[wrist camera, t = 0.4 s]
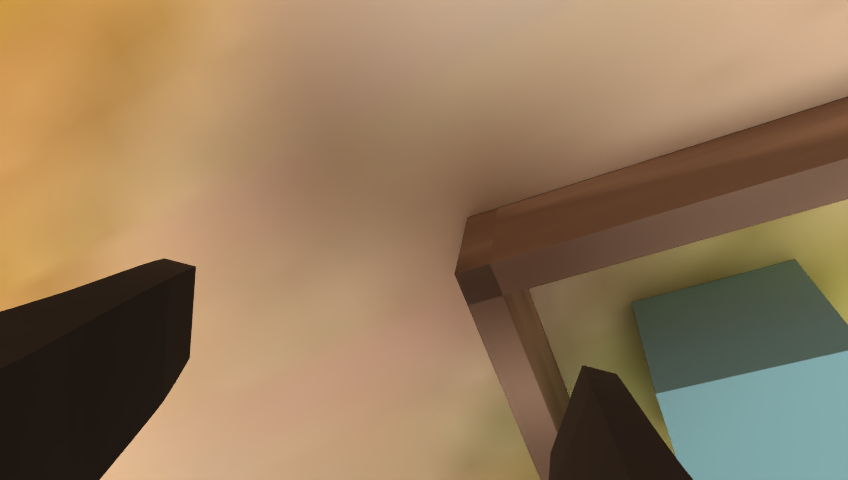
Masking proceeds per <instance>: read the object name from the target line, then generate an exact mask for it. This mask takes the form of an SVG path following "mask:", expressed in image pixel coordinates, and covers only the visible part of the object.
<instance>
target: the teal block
mask: <svg viewBox="0 0 848 480" xmlns="http://www.w3.org/2000/svg"><path fill="white" fill-rule="evenodd" d="M631 303H632V307H633V311H634V315H635V318H636V322H637V326H638V330H639V333H640V337H641V341H642V345H643V349H644V352H645V356H646V360H647V364H648V367H649V371H650V375H651V379H652V382H653V386H654V390H655V394H656V397H657V400H658V403H659V406H660V409H661V412H662V415H663V418H664V421H665V424H666V427H667V430H668V433H669V436H670V439H671V443H672V446H673V449H674V452H675V455H676V458H677V460H678V461H679V462H680V463H681V465H682V466H683V467H684V469H685V470H686V471H687V472H688V474H689V475H690V476H691V477H692V479H693V480H848V325H847V323H846V322H845V321H844V320H843V318H842V317H841V316H840V315H839V313H838V312H837V311H836V310H835V308H834V307H833V306H832V305H831V303H830V302H829V301H828V300H827V298H826V297H825V296H824V295H823V294H822V292H821V291H820V290H819V289H818V287H817V286H816V285H815V284H814V282H813V281H812V280H811V279H810V277H809V276H808V275H807V274H806V272H805V271H804V270H803V269H802V267H801V266H800V265H799V264H798V262H797V261H796V260H795V259H794V260H790V261H787V262H783V263H779V264H775V265H771V266H768V267H764V268H760V269H756V270H752V271H749V272H745V273H741V274H737V275H733V276H730V277H726V278H722V279H718V280H714V281H711V282H707V283H703V284H699V285H695V286H692V287H688V288H684V289H680V290H676V291H673V292H669V293H665V294H661V295H657V296H654V297H650V298H646V299H642V300H638V301H635V302H631Z"/></svg>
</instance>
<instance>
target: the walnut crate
mask: <svg viewBox="0 0 848 480" xmlns="http://www.w3.org/2000/svg"><path fill="white" fill-rule="evenodd" d="M846 199H848V97H847V98H843V99H840V100H837V101H834V102H831V103H828V104H825V105H821V106H818V107H815V108H812V109H809V110H806V111H803V112H799V113H796V114H793V115H790V116H787V117H784V118H780V119H777V120H774V121H771V122H768V123H765V124H762V125H758V126H755V127H752V128H749V129H746V130H743V131H740V132H736V133H733V134H730V135H727V136H724V137H721V138H718V139H714V140H711V141H708V142H705V143H702V144H699V145H695V146H692V147H689V148H686V149H683V150H680V151H677V152H673V153H670V154H667V155H664V156H661V157H658V158H655V159H651V160H648V161H645V162H642V163H639V164H636V165H633V166H629V167H626V168H623V169H620V170H617V171H614V172H611V173H607V174H604V175H601V176H598V177H595V178H592V179H588V180H585V181H582V182H579V183H576V184H573V185H570V186H566V187H563V188H560V189H557V190H554V191H551V192H548V193H544V194H541V195H538V196H535V197H532V198H529V199H526V200H522V201H519V202H516V203H513V204H510V205H507V206H504V207H500V208H497V209H494V210H491V211H488V212H485V213H481V214H478V215H475V216H472V217H469V218H468V219H467V223H466V227H465V232H464V236H463V240H462V245H461V249H460V253H459V258H458V262H457V266H456V270H455V276H456V278H457V281H458V283H459V286H460V288H461V290H462V293H463V295H464V298H465V300H466V302H467V305H468V307H469V310H470V312H471V314H472V317H473V319H474V321H475V324H476V326H477V329H478V331H479V333H480V336H481V338H482V341H483V343H484V345H485V348H486V350H487V353H488V355H489V357H490V360H491V362H492V364H493V367H494V369H495V372H496V374H497V376H498V379H499V381H500V384H501V386H502V388H503V391H504V393H505V396H506V398H507V400H508V403H509V405H510V407H511V410H512V412H513V415H514V417H515V419H516V422H517V424H518V427H519V429H520V431H521V434H522V436H523V439H524V441H525V443H526V446H527V448H528V450H529V453H530V455H531V458H532V460H533V462H534V465H535V467H536V470H537V472H538V474H539V477H540V479H541V480H549V467H550V453H551V450H552V447H553V445H554V442H555V439H556V437H557V434H558V431H559V428H560V426H561V423H562V420H563V417H564V415H565V412H566V409H567V406H568V404H569V401H570V398H569V395H568V393H567V390H566V387H565V385H564V382H563V380H562V377H561V374H560V372H559V369H558V366H557V364H556V361H555V359H554V356H553V353H552V351H551V348H550V345H549V343H548V340H547V338H546V335H545V332H544V330H543V327H542V324H541V322H540V319H539V316H538V314H537V311H536V309H535V306H534V303H533V301H532V298H531V295H530V293H529V290H528V288H532V287H536V286H539V285H543V284H546V283H550V282H553V281H557V280H561V279H564V278H568V277H571V276H575V275H578V274H582V273H586V272H589V271H593V270H596V269H600V268H603V267H607V266H611V265H614V264H618V263H621V262H625V261H628V260H632V259H635V258H639V257H643V256H646V255H650V254H653V253H657V252H660V251H664V250H668V249H671V248H675V247H678V246H682V245H685V244H689V243H693V242H696V241H700V240H703V239H707V238H710V237H714V236H718V235H721V234H725V233H728V232H732V231H735V230H739V229H743V228H746V227H750V226H753V225H757V224H760V223H764V222H767V221H771V220H775V219H778V218H782V217H785V216H789V215H792V214H796V213H800V212H803V211H807V210H810V209H814V208H817V207H821V206H825V205H828V204H832V203H835V202H839V201H842V200H846Z"/></svg>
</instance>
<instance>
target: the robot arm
mask: <svg viewBox="0 0 848 480" xmlns="http://www.w3.org/2000/svg"><path fill="white" fill-rule="evenodd" d="M195 271H196V267H195V266H191V265H188V264H184V263H180V262H176V261H172V260H168V259H161V260H157V261H153V262H150V263H147V264H143V265H140V266H137V267H135V268H132V269H129V270H126V271H123V272H120V273H117V274H115V275H112V276H109V277H106V278H103V279H101V280H98V281H95V282H92V283H89V284H86V285H83V286H80V287H78V288H75V289H72V290H69V291H66V292H63V293H60V294H57V295H54V296H50V297H47V298H44V299H41V300H37V301H34V302H31V303H28V304H24V305H21V306H18V307H15V308H11V309H8V310H5V311H1V312H0V480H100V478H101V477H102V476H103V475H104V474H105V472H106V471H107V470H108V469H109V468H110V466H111V465H112V464H113V463H114V461H115V460H116V459H117V458H118V457H119V455H120V454H121V453H122V452H123V451H124V449H125V448H126V447H127V446H128V445H129V443H130V442H131V441H132V440H133V438H134V437H135V436H136V435H137V434H138V432H139V431H140V430H141V429H142V427H143V426H144V425H145V424H146V423H147V421H148V420H149V419H150V418H151V416H152V415H153V414H154V413H155V411H156V410H157V409H158V408H159V406H160V405H161V404H162V402H163V401H164V400H165V398H166V396H167V395H168V393H169V392H170V390H171V388H172V387H173V385H174V384H175V382H176V380H177V379H178V377H179V375H180V374H181V372H182V370H183V368H184V367H185V365H186V363H187V362H188V360H189V358H190V343H191V329H192V314H193V300H194V285H195ZM549 480H693V479H692V477H691V476H690V475H689V474H688V472H687V471H686V470H685V469H684V467H683V466H682V465H681V463H680V462H679V461H678V460H677V458H676V457H675V456H674V454H673V453H672V452H671V450H670V449H669V448H668V446H667V445H666V444H665V442H664V441H663V440H662V438H661V437H660V435H659V434H658V433H657V431H656V430H655V428H654V427H653V426H652V424H651V423H650V421H649V420H648V418H647V417H646V416H645V414H644V413H643V411H642V410H641V408H640V407H639V405H638V404H637V402H636V401H635V400H634V398H633V397H632V395H631V394H630V392H629V391H628V389H627V388H626V386H625V385H624V384H623V382H622V381H621V379H620V378H619V377H618V375H617V374H614V373H610V372H606V371H603V370H599V369H595V368H591V367H587V366H583V365H582V368H581V371H580V374H579V376H578V379H577V382H576V385H575V387H574V390H573V393H572V395H571V398H570V401H569V404H568V406H567V409H566V412H565V415H564V417H563V420H562V423H561V426H560V428H559V431H558V434H557V437H556V439H555V442H554V445H553V447H552V450H551V453H550V467H549Z"/></svg>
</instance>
